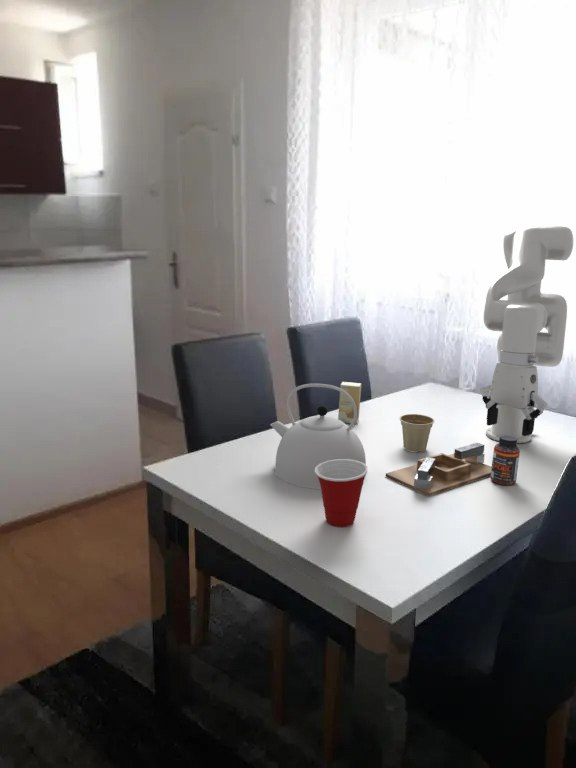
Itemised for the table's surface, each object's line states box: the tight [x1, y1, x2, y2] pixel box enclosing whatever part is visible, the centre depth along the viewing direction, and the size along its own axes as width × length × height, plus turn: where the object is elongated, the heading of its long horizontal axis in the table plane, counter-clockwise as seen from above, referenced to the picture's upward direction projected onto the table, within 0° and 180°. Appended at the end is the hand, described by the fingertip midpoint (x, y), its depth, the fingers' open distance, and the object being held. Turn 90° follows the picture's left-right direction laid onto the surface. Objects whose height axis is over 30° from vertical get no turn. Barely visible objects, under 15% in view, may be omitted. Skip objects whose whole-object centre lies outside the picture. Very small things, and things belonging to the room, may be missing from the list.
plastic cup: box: [315, 459, 369, 528], centre depth 128 cm, size 11×11×12 cm
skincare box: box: [337, 381, 362, 425], centre depth 195 cm, size 6×4×12 cm
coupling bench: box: [385, 452, 492, 497], centre depth 155 cm, size 26×14×3 cm, turn 126°
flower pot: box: [399, 413, 435, 453], centre depth 172 cm, size 9×9×9 cm
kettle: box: [270, 383, 367, 490], centre depth 154 cm, size 25×23×23 cm
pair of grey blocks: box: [414, 442, 485, 491], centre depth 153 cm, size 28×8×5 cm, turn 126°
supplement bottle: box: [490, 435, 521, 486], centre depth 150 cm, size 6×6×11 cm
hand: (508, 429), depth 148 cm, fingers open, 9 cm apart
